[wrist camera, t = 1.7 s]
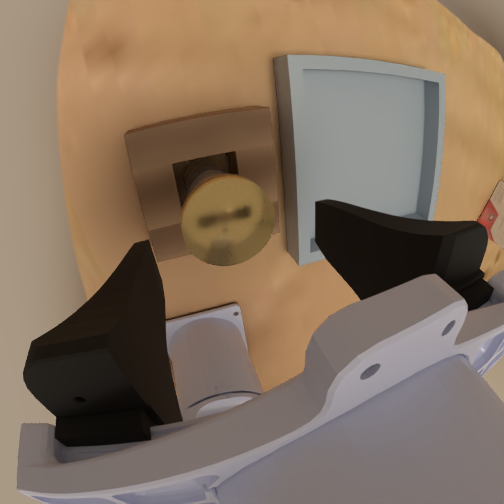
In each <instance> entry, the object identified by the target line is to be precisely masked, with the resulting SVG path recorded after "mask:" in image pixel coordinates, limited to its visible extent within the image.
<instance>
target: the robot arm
mask: <svg viewBox="0 0 504 504" xmlns="http://www.w3.org/2000/svg"><path fill="white" fill-rule="evenodd" d="M315 243H316V244H317V246H318V247H319V249H320V251H321V252H322V254H323V255H324V257H325V258H326V259H327V260H328V262H329V263H330V264H331V265H332V266H333V267H334V269H335V270H336V271H337V272H338V273H339V274H340V275H341V276H342V278H343V279H344V280H345V281H346V282H347V283H348V284H349V286H350V287H351V288H352V289H353V290H354V292H355V293H356V294H357V295H358V297H359V298H360V300H361V301H359V302H356V303H353V304H351V305H348V306H346V307H344V308H343V309H341V310H339V311H337V312H336V313H334V314H332V315H330V316H329V317H328V318H327V319H326V320H325V321H324V322H323V323H322V324H321V325H320V326H319V327H318V328H317V329H316V330H315V331H314V333H313V335H312V337H311V340H310V342H309V345H308V347H307V350H306V354H305V368H304V371H303V372H302V373H300V374H298V375H297V376H295V377H293V378H291V379H289V380H288V381H286V382H284V383H282V384H280V385H278V386H276V387H274V388H272V389H271V390H269V391H267V392H265V393H264V391H263V388H262V386H261V384H260V381H259V379H258V376H257V374H256V371H255V369H254V366H253V364H252V361H251V359H250V356H249V353H248V348H247V342H246V337H245V331H244V326H243V320H242V314H241V309H240V306H239V305H238V304H236V303H235V304H231V305H227V306H223V307H219V308H215V309H212V310H208V311H204V312H200V313H196V314H192V315H188V316H184V317H180V318H176V319H172V320H168V321H166V315H165V297H164V290H163V284H162V279H161V276H160V273H159V270H158V267H157V264H156V261H155V258H154V255H153V252H152V248H151V245H150V242H149V240H145V241H141V242H137V243H134V245H133V246H132V247H131V248H130V250H129V251H128V253H127V254H126V256H125V257H124V258H123V260H122V261H121V263H120V264H119V265H118V267H117V268H116V269H115V271H114V272H113V273H112V274H111V276H110V277H109V278H108V280H107V281H106V282H105V283H104V285H103V286H102V287H101V288H100V289H99V290H98V291H97V292H96V293H95V294H94V295H93V296H92V297H91V298H90V299H89V300H88V301H87V302H86V303H85V304H84V305H83V306H82V307H80V308H79V309H78V310H77V311H76V312H75V313H74V314H72V315H71V316H70V317H69V318H67V319H66V320H65V321H63V322H62V323H60V324H59V325H58V326H56V327H55V328H53V329H52V330H50V331H48V332H47V333H45V334H43V335H42V336H40V337H38V338H37V339H35V340H33V341H32V342H31V346H30V349H29V352H28V356H27V360H26V363H25V367H24V371H23V378H24V382H25V384H26V386H27V388H28V389H29V390H30V392H31V393H32V394H33V395H34V397H35V398H36V399H38V400H39V401H40V402H41V403H42V404H43V405H44V406H45V407H46V408H47V409H48V410H49V411H50V412H51V413H52V414H54V415H55V416H56V426H54V425H51V424H48V423H23V424H22V425H21V432H20V441H19V452H18V468H17V490H18V491H19V492H20V493H22V494H24V495H26V496H28V497H30V498H33V499H35V500H37V501H39V502H42V503H44V504H504V403H503V402H502V401H501V399H500V398H499V397H498V395H497V394H496V393H495V392H494V390H493V389H492V388H491V387H490V386H489V384H488V383H487V382H486V381H485V380H484V378H483V376H484V375H485V373H486V372H488V371H489V369H490V368H491V367H492V366H493V365H494V364H495V363H496V362H497V361H498V360H499V359H500V358H501V357H502V356H503V355H504V271H503V270H501V271H499V272H498V273H497V274H495V275H494V276H492V277H491V278H490V279H489V281H488V282H486V281H485V280H484V279H482V278H483V277H484V275H485V274H484V272H483V271H481V270H480V266H481V263H482V260H483V257H484V254H485V251H486V247H487V243H488V232H487V229H486V227H485V226H483V225H482V224H480V223H479V222H477V221H429V220H420V219H412V218H406V217H400V216H395V215H390V214H386V213H382V212H378V211H374V210H370V209H367V208H363V207H360V206H356V205H352V204H349V203H345V202H341V201H337V200H331V199H325V200H320V201H315ZM234 312H237V313H234ZM168 355H169V357H170V359H171V361H172V365H173V372H174V378H175V385H176V391H177V395H176V391H175V387H174V382H173V378H172V373H171V368H170V363H169V357H168ZM177 397H178V399H177ZM178 402H179V403H178Z"/></svg>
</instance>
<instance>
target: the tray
mask: <svg viewBox="0 0 504 504" xmlns="http://www.w3.org/2000/svg"><path fill="white" fill-rule="evenodd" d="M273 63H274V73H275V83H276V93H277V104H278V115H279V127H280V139H281V152H282V166H283V181H284V197H285V214H286V233H287V251H288V253H289V254H290V255H291V256H292V258H293V259H294V260H295V262H296V263H297V264H298V265H299V266H302V265H305V264H309V263H312V262H316V261H319V260H323V259H326V258H325V257H324V255H323V254H322V252H321V251H320V249H319V247H318V246H317V244H316V243H315V201H320V200H325V199H331V200H337V201H341V202H345V203H349V204H352V205H356V206H360V207H363V208H367V209H370V210H374V211H378V212H382V213H386V214H390V215H395V216H400V217H406V218H412V219H420V220H429V221H433V219H434V213H435V208H436V202H437V196H438V189H439V182H440V174H441V165H442V155H443V143H444V127H445V74H442V73H439V72H434V71H430V70H426V69H421V68H417V67H412V66H407V65H401V64H396V63H390V62H383V61H376V60H368V59H360V58H350V57H338V56H321V55H285V56H281V57H277V58H273Z"/></svg>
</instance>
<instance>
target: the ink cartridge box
mask: <svg viewBox="0 0 504 504" xmlns="http://www.w3.org/2000/svg"><path fill="white" fill-rule="evenodd" d="M478 222H479V223H480V224H482V225H483V226H485V227H486V229H487V232H488V238H489V239H490V240H492V241H493V242H495V243H496V244H498V245H499V246H500V247H502V248H503V249H504V182H503V181H499V183H498V185H497V186H496V188H495V190H494V192H493V194H492V196H491V198H490V200H489V202H488V203H487V205H486V207H485V209H484V210H483V212H482V214H481V216H480V217H479V219H478Z"/></svg>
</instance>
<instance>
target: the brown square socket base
mask: <svg viewBox="0 0 504 504" xmlns="http://www.w3.org/2000/svg"><path fill="white" fill-rule="evenodd" d="M124 137H125V142H126V146H127V151H128V155H129V160H130V164H131V168H132V172H133V176H134V181H135V185H136V188H137V192H138V196H139V200H140V204H141V207H142V211H143V215H144V218H145V222H146V225H147V229H148V232H149V235H150V239H151V242H152V245H153V249H154V252H155V255H156V258H157V261H158V262H161V261H165V260H169V259H173V258H177V257H181V256H185V255H189V254H193V253H192V252H191V251H190V250H189V249H188V247H187V245H186V243H185V241H184V238H183V234H182V229H181V221H180V217H181V211H182V208H181V203H180V199H179V194H178V189H177V184H176V180H175V175H174V170H173V165H172V164H174V163H178V162H182V161H187V160H192V159H196V158H201V157H206V156H211V155H216V154H221V153H227V152H228V155H229V162H230V170H231V174H236V175H241V176H244V177H247V178H249V179H251V180H252V181H254V182H255V183H256V184H258V185H259V186H260V187H261V188H262V189H263V190H264V191H265V192H266V193H267V195H268V196H269V198H270V199H271V201H272V204H273V207H274V211H275V224H274V229H273V232H272V234H275V233H280V229H279V213H278V199H277V185H276V172H275V159H274V147H273V136H272V124H271V114H270V108H269V107H262V106H253V107H245V108H237V109H230V110H223V111H217V112H210V113H205V114H199V115H194V116H188V117H183V118H178V119H174V120H169V121H165V122H160V123H156V124H152V125H148V126H144V127H140V128H136V129H132V130H129V131H128V132H127V133H126V134H125V135H124Z"/></svg>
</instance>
